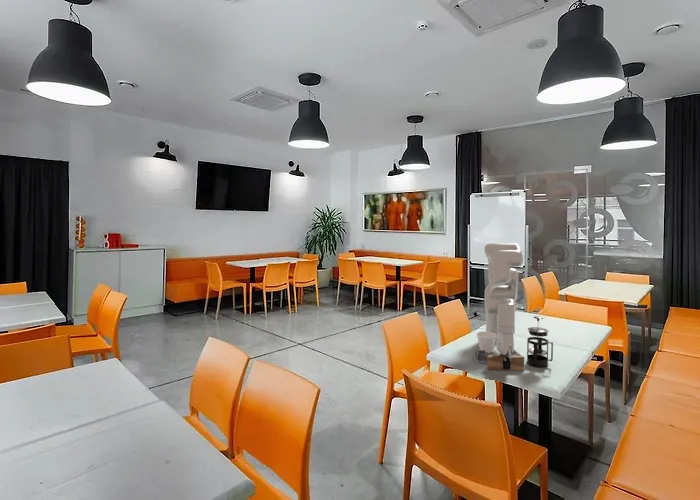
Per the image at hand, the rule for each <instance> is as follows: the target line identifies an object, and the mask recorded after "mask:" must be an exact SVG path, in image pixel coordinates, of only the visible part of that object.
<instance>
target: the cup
mask: <svg viewBox="0 0 700 500" xmlns="http://www.w3.org/2000/svg"><path fill="white" fill-rule="evenodd" d="M476 338H477V341H478V346H479V350H485V354H491V353H493V352H494V349H495V345H496V343H497V342H496V338H497V335H496V334H495V333H492V332H486V331H478V332H477V333H476Z"/></svg>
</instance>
